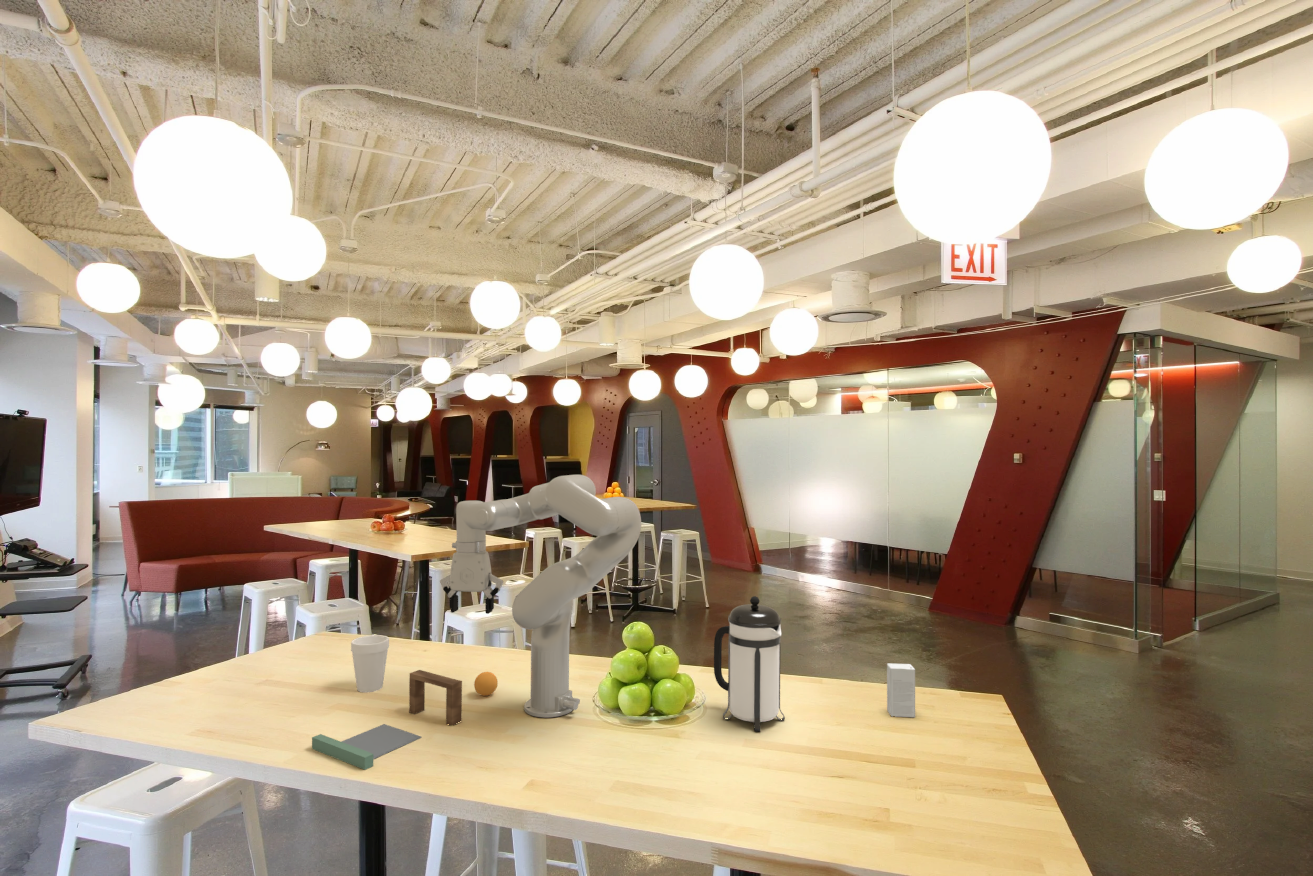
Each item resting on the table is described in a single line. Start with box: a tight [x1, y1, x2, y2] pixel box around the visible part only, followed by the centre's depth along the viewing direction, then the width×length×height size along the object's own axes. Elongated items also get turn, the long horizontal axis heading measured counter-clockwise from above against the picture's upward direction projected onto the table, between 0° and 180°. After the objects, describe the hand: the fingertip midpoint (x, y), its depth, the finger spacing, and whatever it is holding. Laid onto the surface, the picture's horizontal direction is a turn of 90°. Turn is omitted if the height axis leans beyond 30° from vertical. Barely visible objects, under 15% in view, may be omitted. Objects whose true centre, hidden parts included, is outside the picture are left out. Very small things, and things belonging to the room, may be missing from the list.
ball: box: [473, 671, 499, 697], centre depth 183 cm, size 6×6×6 cm
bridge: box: [408, 669, 463, 726], centre depth 168 cm, size 3×15×10 cm, turn 59°
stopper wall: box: [311, 733, 374, 771], centre depth 147 cm, size 18×2×2 cm, turn 59°
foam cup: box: [350, 634, 390, 693], centre depth 187 cm, size 10×9×13 cm
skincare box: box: [886, 662, 916, 718], centre depth 173 cm, size 6×4×12 cm
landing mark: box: [340, 723, 422, 760], centre depth 154 cm, size 13×13×1 cm
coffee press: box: [713, 595, 786, 733], centre depth 169 cm, size 17×16×30 cm
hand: (471, 612), depth 184 cm, fingers open, 9 cm apart
